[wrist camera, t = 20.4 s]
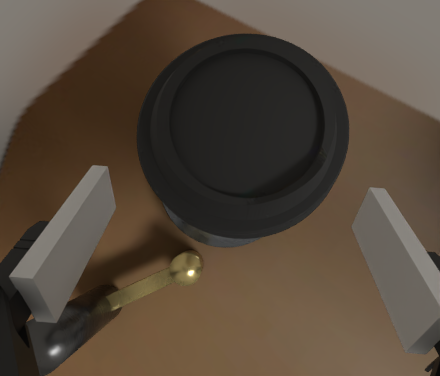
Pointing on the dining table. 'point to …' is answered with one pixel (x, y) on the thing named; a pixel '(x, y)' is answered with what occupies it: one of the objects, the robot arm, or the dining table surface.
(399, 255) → the robot arm
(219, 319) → the dining table surface
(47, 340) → the lever
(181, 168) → the coffee cup
